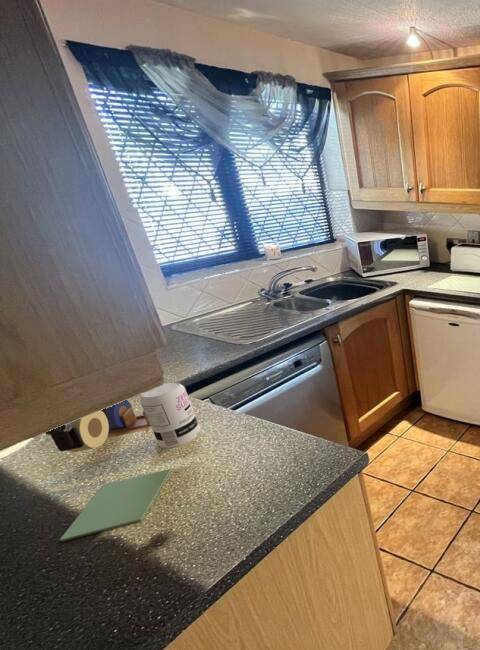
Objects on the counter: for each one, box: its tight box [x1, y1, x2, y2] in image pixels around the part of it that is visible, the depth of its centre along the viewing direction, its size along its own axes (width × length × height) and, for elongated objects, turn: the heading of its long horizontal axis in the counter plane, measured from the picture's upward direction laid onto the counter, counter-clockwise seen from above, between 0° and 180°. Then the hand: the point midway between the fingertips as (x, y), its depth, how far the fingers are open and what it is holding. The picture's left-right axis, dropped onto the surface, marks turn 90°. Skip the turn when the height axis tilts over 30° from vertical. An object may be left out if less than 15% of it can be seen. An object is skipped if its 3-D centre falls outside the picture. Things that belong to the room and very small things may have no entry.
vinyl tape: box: [106, 399, 132, 430], centre depth 99 cm, size 3×8×8 cm, turn 21°
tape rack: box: [106, 406, 151, 439], centre depth 101 cm, size 10×9×5 cm
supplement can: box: [139, 380, 201, 449], centre depth 94 cm, size 8×8×15 cm
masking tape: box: [67, 410, 109, 453], centre depth 72 cm, size 3×8×8 cm, turn 21°
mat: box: [59, 468, 172, 543], centre depth 79 cm, size 12×14×1 cm
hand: (86, 433), depth 72 cm, fingers closed on masking tape, 7 cm apart
